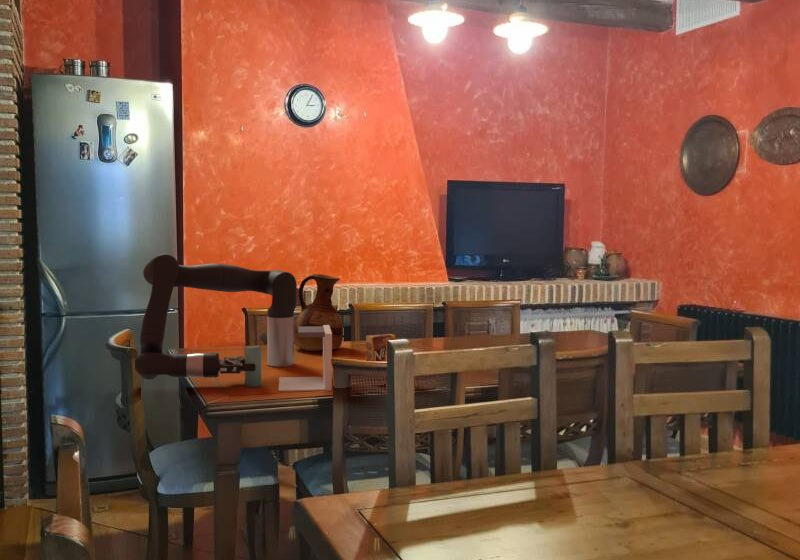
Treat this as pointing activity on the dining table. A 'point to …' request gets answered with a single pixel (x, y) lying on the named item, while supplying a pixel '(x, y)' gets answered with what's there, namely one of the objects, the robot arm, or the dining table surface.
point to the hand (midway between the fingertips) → (256, 364)
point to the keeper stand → (326, 380)
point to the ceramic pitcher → (318, 314)
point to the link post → (253, 358)
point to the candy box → (377, 346)
